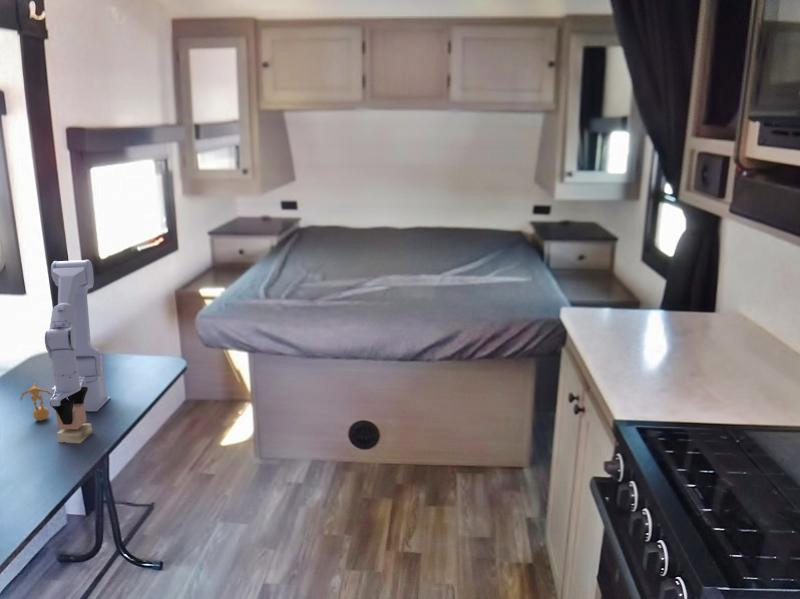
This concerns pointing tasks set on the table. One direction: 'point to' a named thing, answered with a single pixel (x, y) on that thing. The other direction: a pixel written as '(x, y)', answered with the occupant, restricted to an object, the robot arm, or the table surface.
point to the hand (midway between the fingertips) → (72, 419)
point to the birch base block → (75, 434)
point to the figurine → (39, 412)
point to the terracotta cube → (74, 418)
